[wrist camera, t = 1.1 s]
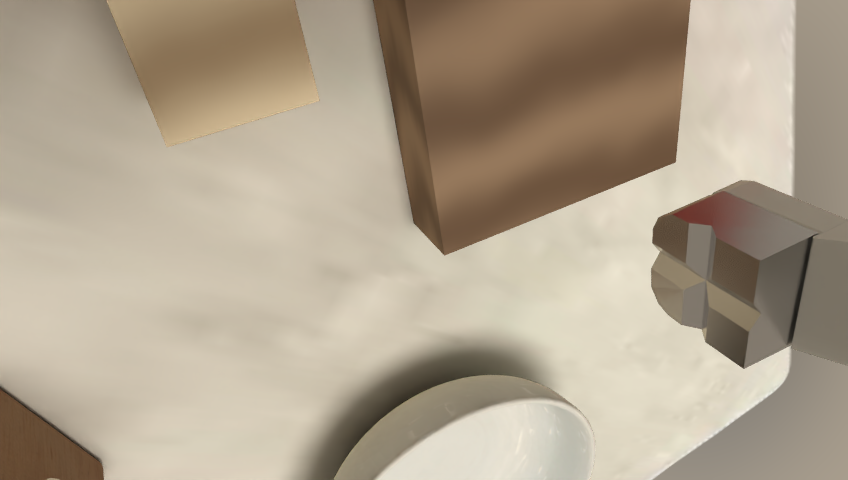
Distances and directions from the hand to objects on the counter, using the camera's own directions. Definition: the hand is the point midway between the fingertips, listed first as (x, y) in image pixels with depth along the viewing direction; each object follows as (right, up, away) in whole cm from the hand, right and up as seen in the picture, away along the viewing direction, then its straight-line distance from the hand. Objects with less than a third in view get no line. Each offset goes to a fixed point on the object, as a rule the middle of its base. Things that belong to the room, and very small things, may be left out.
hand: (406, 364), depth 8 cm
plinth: (+6, +12, +27) cm, 30 cm away
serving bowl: (+1, -14, +40) cm, 42 cm away
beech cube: (-10, +11, +19) cm, 24 cm away
